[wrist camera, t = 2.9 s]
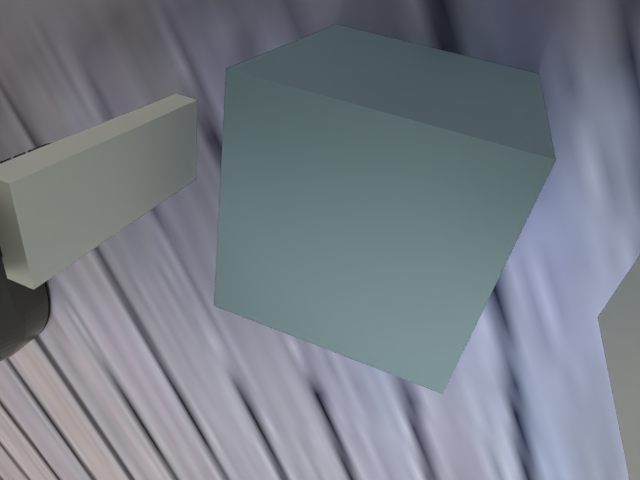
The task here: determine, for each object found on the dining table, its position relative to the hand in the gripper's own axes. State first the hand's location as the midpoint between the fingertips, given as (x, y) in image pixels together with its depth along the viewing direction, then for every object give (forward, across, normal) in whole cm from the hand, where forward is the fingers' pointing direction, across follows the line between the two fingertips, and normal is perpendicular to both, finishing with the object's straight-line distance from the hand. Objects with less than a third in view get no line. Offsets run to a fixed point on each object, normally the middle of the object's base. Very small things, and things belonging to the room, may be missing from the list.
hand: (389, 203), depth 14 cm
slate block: (+5, +1, 0) cm, 5 cm away
